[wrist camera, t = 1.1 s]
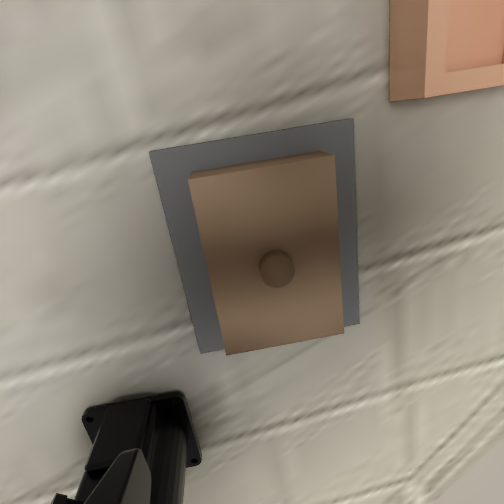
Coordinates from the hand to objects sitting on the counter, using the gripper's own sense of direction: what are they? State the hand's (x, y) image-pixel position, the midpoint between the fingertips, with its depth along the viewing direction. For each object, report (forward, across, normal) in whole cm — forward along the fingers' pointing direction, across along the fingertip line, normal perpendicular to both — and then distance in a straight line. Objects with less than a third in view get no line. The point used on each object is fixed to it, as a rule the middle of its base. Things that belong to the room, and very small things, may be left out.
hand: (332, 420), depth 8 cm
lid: (+11, 0, 0) cm, 11 cm away
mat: (+12, 0, 0) cm, 12 cm away
